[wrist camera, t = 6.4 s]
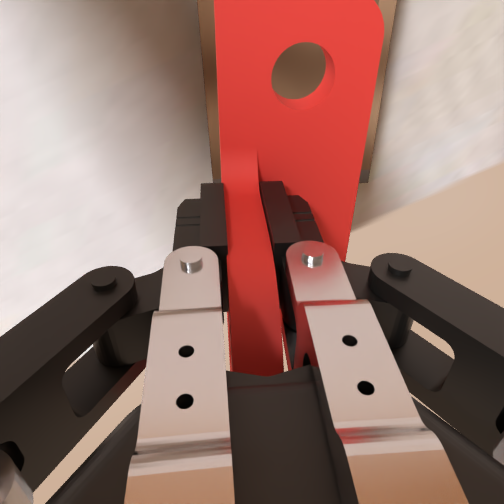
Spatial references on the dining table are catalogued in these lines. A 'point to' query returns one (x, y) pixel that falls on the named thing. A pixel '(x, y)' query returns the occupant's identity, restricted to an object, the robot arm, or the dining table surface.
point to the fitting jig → (288, 78)
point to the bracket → (287, 145)
